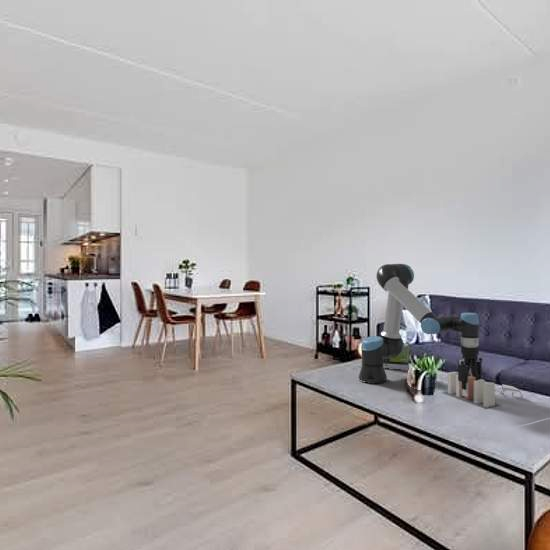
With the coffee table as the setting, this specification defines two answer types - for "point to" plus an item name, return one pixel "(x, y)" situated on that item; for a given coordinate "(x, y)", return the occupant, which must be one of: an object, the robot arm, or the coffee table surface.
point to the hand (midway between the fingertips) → (470, 394)
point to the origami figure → (509, 389)
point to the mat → (470, 401)
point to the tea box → (398, 360)
